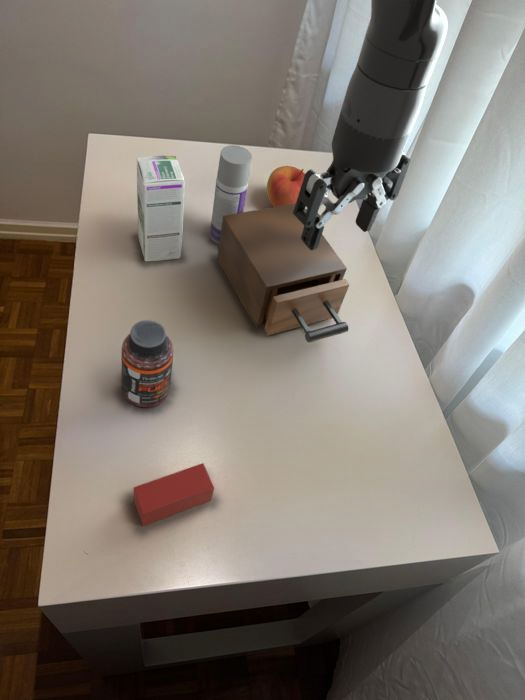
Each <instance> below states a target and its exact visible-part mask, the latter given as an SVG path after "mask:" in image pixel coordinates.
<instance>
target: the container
mask: <svg viewBox="0 0 525 700" xmlns="http://www.w3.org/2000/svg"><path fill="white" fill-rule="evenodd" d="M252 159H253V155H252V152H250V150H248V149H247V148H245V147H244V146H240V145H235V144H234V145H233V144H232V145H227V146H224V147H222V148H221V150H220V155H219V161H218V168H217V174H216V181H215V187H214V197H213V205H212V213H211V221H210V230H209V236H210V239H211V240H212V241H213V242H214V243H216V244H218V245H219V242H220V235H221V228H222V221H223V216H225V215H231V214H236V213H242V212H245V211H244V210H245V205H246V199H247V194H248V187H249V180H250V174H251V173H250V172H251V168H252V167H251V166H252Z"/></svg>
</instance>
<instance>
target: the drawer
mask: <svg viewBox="0 0 525 700" xmlns="http://www.w3.org/2000/svg"><path fill="white" fill-rule="evenodd" d="M335 276H336V275H332V276H328V277H323V278H319V279H315V280H311V281H307V282H302V283H298V284H294V285H290V286H285V287H281V288H277V289H273V290H271V291H270V295H269V299H268V303H267V307H266V311H265V315H264V318H265V319H267V321H266V325H265V327H264V331H265V333H266V334H267V336H271V335H274V334H278V333H282V332H285V331H289V330H293V329H297V328H300V327H301V329H302V331H303V332H304V339H305V341H306V343H309V344H310V343H312V342H313V343H314V342H316V341H320V340H324V339H327V338H330V337H334V336H337V335H341V334H344V333H347V332H348V331H349V325H348V323H347V322H346V321H342V319H341V317H340V316H339V312H340V309H341V307H342V305H343V302H344V299H345V297H346V295H347V292H348V291H349V290H348V289H349V287H350V283H349V282H348V280H347V279H345V278H343V280H339V281H335V282H333V281H334V278H335ZM330 319H332V320H333V321H334V322H335V324H331V325H327V326H324V327H321V328H317V329H313V330H311V329H310V327H309V325H312V324H314V323H318V322H322V321H326V320H330Z"/></svg>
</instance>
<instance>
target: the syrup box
mask: <svg viewBox="0 0 525 700" xmlns="http://www.w3.org/2000/svg"><path fill="white" fill-rule="evenodd" d="M185 187H186V181H185V177H184V175H183V172H182V169H181V166H180V164H179V161H178V158H177V156H176V155H150V156H149V155H148V156H142V157H136V193H137V195H136V196H137V202H136V203H137V238H138V241H139V245H140V249H141V252H142V256H143V260H144V262H158V261H168V260H176V259H177V260H178V259H181V257H182V247H183V230H184V229H183V227H184V210H185V209H184V208H185V207H184V205H185Z"/></svg>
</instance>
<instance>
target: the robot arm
mask: <svg viewBox="0 0 525 700" xmlns="http://www.w3.org/2000/svg"><path fill="white" fill-rule="evenodd" d="M370 7H371V9H370V10H371V11H370V19H369V23H368V25H367V28H366V32H365V35H364V38H363V42H362V45H361V48H360V52H359V56H358V59H357V62H356V65H355V68H354V70H353V73H352V75H351V76H350V79H349V82H348V85H347V88H346V91H345V95H344V98H343V102H342V105H341V108H340V111H339V112H340V113H339V115H338V119H337V122H336V126H335V129H334V133H333V137H332V141H331V150H332V161H331V163H330V165H329V167H328V168H327V170H326V172H321V173H317V172H315V170H314V169H308V170H307V171H306V172H304V173H305V176H304V179H303V182H302V185H301V189H300V192H299V195H298V198H297V201H296V205H295V208H294V211H293V214H294V215H295V216H296V217H297V219H298V220H299V221H300V222H301V223H302V224H303V225H304V228H303V232H302V235H301V240H302V241H303V242H304V244H305V245H306V246H307V247H308V248H309V249H310V250H315V249H317V248H318V245H319V242H320V239H321V236H322V235H323V232H324V229H325V225H326V223H328V221H329V220H330V219H331V218H332V217H333V216H334V215H336V216H337V215H338V214H340V213H341V212H342V211H343V210H344V209H345V207H346V206H347V205H348V204H350V203H351V204H352V202H354V201H356V200H362V202H361V204H360V207H359V210H358V213H357V215H356V218H355V224H356V226H357V227H358V228H359V229H360V230H361V231H362V232H363V233H366V232H369V231H371V229H372V226H373V224H375V221H376V218H377V216H378V214H379V211H380V209H382V208H383V207H384V206H386V203H387V201H388V200H390V201H394V200H396V199H397V198H398V197H399V195H400V191H401V189H402V186H403V183H404V181H405V178H406V176H407V173H408V170H409V168H410V165H411V162H412V159H411V157H410V156H408V155H407V154H406V153H405V152H404V151H405V149H406V146H407V143H408V141H409V138H410V135H411V133H412V132H413V128H414V126H415V123H416V121H417V118H418V117H419V114H420V111H421V107H422V105H423V102H424V98H425V94H426V90H427V87H428V84H429V81H430V79H431V76H432V75H433V72H434V68H435V66H436V64H437V61H438V58H439V57H440V53H441V51H442V48H443V45H444V43H445V39H446V37H447V33H448V18H447V15H446V14H445V12H444V11H443V9H442V8H441V7H440V6H438V5H437V0H371V5H370ZM390 182H391V183H392V184H391V185H390ZM330 191H331V193H332V195H333V196H334V197H335V198H336V199H337V201H335V202H333V201H332V200H331V199H330V198H329V196H328V194H329V193H330ZM323 205H324V206H325V209H324V210H323V212H322V213H321V214H320V213H319V210H320V208H321V207H322V206H323Z"/></svg>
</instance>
